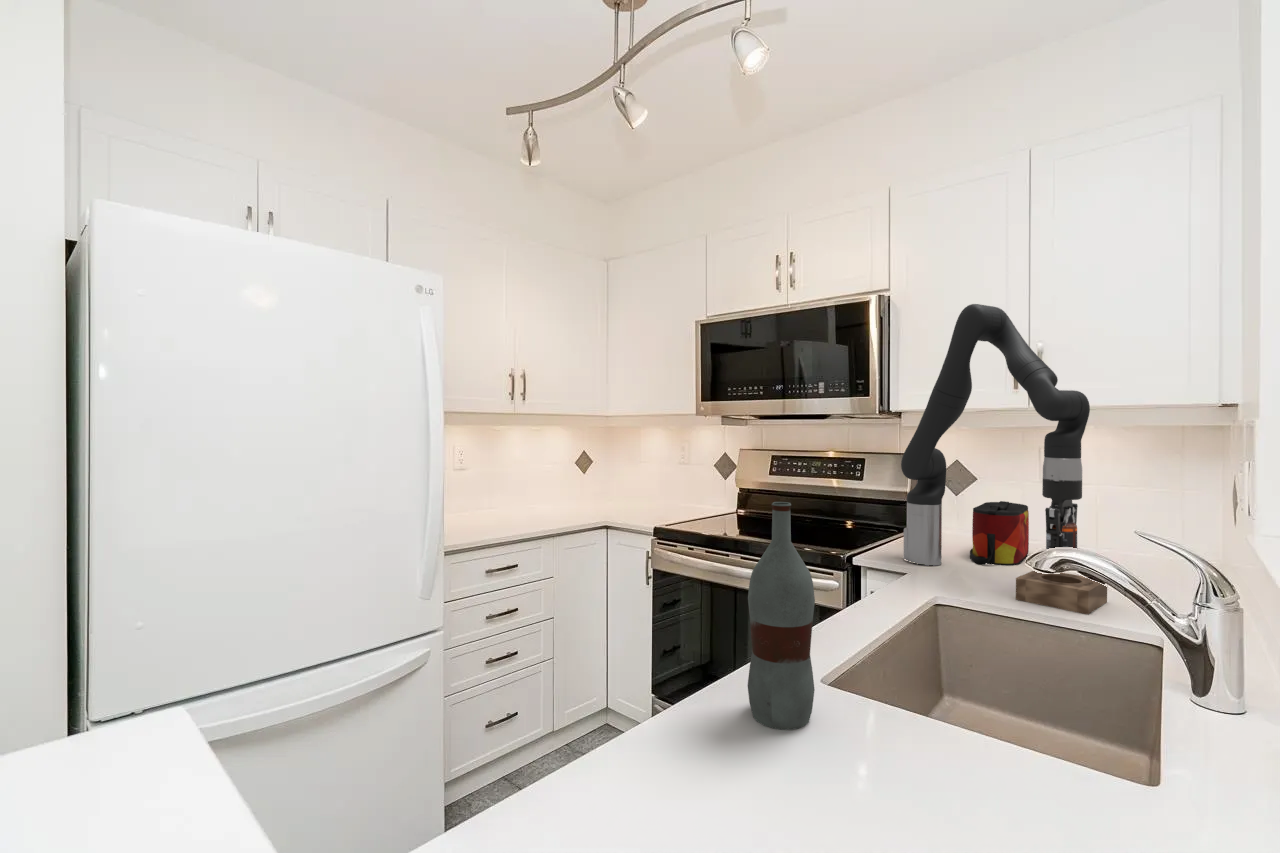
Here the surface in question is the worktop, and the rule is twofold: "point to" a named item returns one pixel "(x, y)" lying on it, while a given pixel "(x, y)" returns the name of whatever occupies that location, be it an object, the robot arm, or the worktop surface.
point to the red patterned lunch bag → (1000, 533)
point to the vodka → (781, 631)
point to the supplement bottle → (1066, 535)
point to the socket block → (1061, 591)
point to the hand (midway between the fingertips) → (1061, 550)
